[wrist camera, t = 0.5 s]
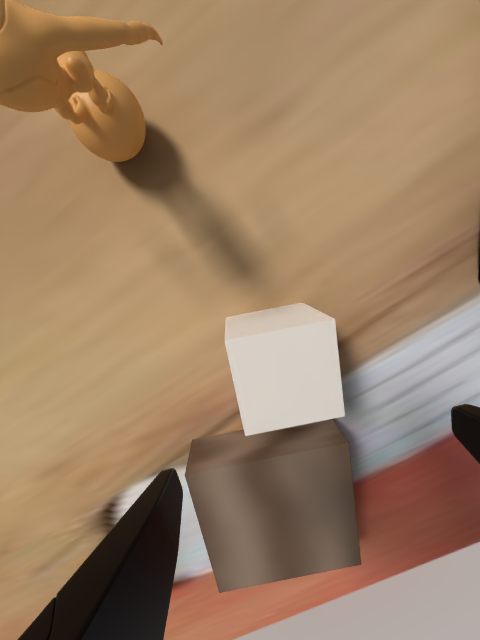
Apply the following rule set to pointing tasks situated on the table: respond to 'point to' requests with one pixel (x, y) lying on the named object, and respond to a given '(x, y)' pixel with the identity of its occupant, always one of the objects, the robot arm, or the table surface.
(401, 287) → the table surface
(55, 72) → the figurine
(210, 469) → the walnut slab
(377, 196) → the table surface
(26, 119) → the table surface
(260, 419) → the off-white cube
